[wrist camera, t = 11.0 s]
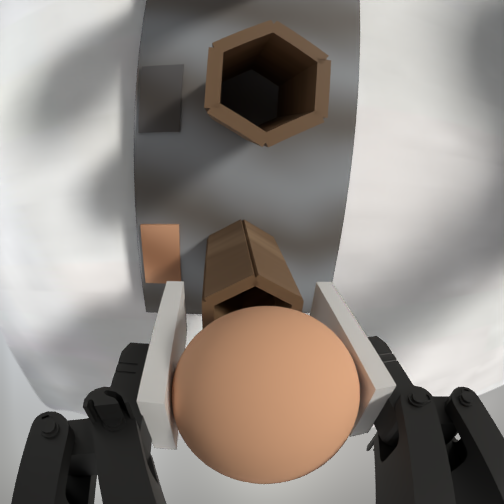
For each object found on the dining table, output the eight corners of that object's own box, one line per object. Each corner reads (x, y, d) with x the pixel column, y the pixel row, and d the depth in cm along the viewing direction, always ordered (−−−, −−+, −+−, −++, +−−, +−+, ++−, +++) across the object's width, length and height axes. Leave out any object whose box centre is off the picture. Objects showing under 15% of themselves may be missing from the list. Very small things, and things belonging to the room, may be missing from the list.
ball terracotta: (173, 270, 10) (139, 419, 4) (341, 271, 11) (427, 393, 5) (185, 386, 12) (180, 506, 7) (313, 382, 13) (349, 490, 8)
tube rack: (166, -68, 10) (148, -133, 2) (350, -50, 11) (402, -99, 4) (148, 304, 21) (124, 386, 13) (321, 304, 22) (360, 379, 15)
